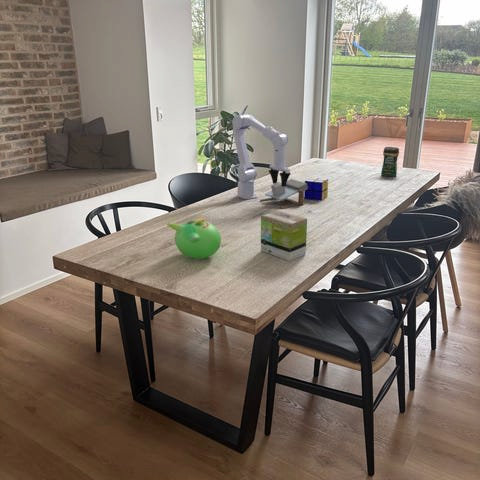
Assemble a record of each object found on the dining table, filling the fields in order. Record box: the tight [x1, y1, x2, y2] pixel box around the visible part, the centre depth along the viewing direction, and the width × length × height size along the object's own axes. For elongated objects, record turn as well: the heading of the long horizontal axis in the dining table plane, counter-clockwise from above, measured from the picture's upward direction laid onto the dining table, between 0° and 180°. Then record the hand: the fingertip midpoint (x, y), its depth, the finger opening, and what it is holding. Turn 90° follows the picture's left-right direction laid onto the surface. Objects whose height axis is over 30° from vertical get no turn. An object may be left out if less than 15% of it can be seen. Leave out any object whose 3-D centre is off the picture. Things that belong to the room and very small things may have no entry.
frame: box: [259, 190, 305, 210], centre depth 255 cm, size 19×14×8 cm
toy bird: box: [166, 217, 222, 260], centre depth 182 cm, size 18×17×15 cm
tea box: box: [260, 210, 308, 262], centre depth 184 cm, size 15×10×15 cm, turn 45°
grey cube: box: [270, 181, 286, 196], centre depth 252 cm, size 5×5×5 cm
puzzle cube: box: [304, 177, 329, 202], centre depth 264 cm, size 10×10×10 cm
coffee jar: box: [380, 146, 400, 178], centre depth 314 cm, size 10×8×19 cm
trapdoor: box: [264, 178, 308, 201], centre depth 256 cm, size 16×18×3 cm
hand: (279, 184), depth 252 cm, fingers open, 7 cm apart
